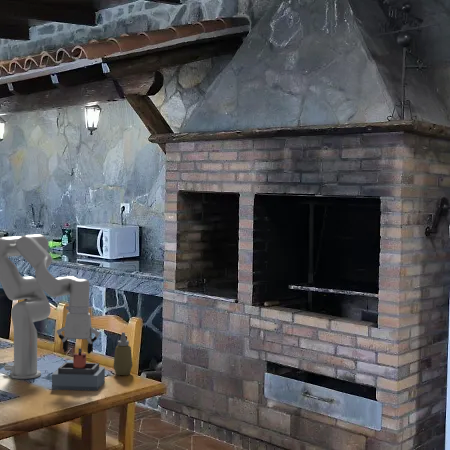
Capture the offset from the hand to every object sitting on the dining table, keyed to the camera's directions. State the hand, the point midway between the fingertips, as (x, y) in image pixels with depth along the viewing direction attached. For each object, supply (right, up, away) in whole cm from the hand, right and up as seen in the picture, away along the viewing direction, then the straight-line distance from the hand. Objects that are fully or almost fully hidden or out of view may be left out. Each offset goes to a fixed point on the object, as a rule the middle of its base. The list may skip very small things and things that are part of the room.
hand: (77, 352), depth 284 cm
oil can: (0, -12, 0) cm, 12 cm away
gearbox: (0, -14, 0) cm, 13 cm away
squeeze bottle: (+15, -13, +18) cm, 27 cm away
